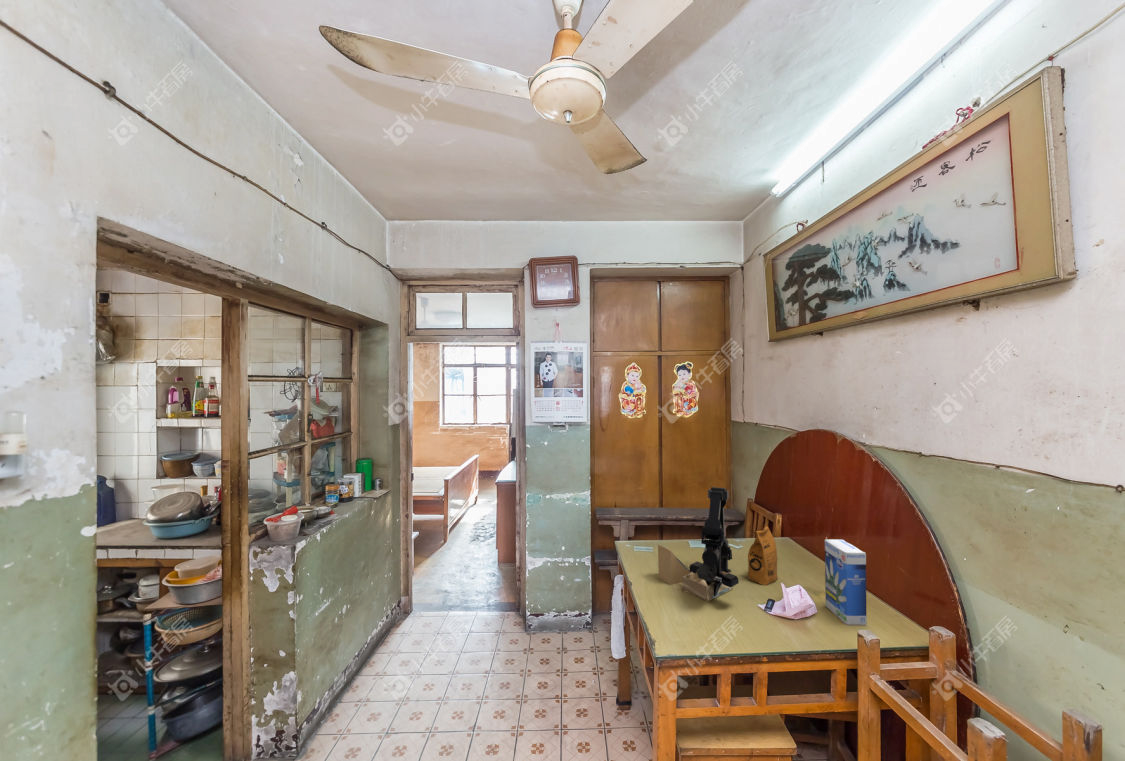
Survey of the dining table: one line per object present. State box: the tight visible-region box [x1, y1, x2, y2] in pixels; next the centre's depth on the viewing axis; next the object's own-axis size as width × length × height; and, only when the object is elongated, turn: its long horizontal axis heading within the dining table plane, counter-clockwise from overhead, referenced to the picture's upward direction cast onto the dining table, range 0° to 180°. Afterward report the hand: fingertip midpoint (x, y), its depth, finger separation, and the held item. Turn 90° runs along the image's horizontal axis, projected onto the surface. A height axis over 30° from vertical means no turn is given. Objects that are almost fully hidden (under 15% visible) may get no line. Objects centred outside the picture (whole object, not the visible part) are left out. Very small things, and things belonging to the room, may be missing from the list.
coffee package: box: [747, 526, 778, 586], centre depth 186 cm, size 10×12×22 cm
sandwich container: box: [657, 544, 693, 585], centre depth 189 cm, size 9×15×15 cm, turn 115°
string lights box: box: [824, 538, 868, 626], centre depth 157 cm, size 13×8×26 cm, turn 178°
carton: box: [681, 571, 729, 601], centre depth 178 cm, size 18×11×5 cm, turn 126°
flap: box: [706, 583, 734, 602], centre depth 173 cm, size 17×1×6 cm, turn 126°
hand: (713, 595), depth 169 cm, fingers closed
